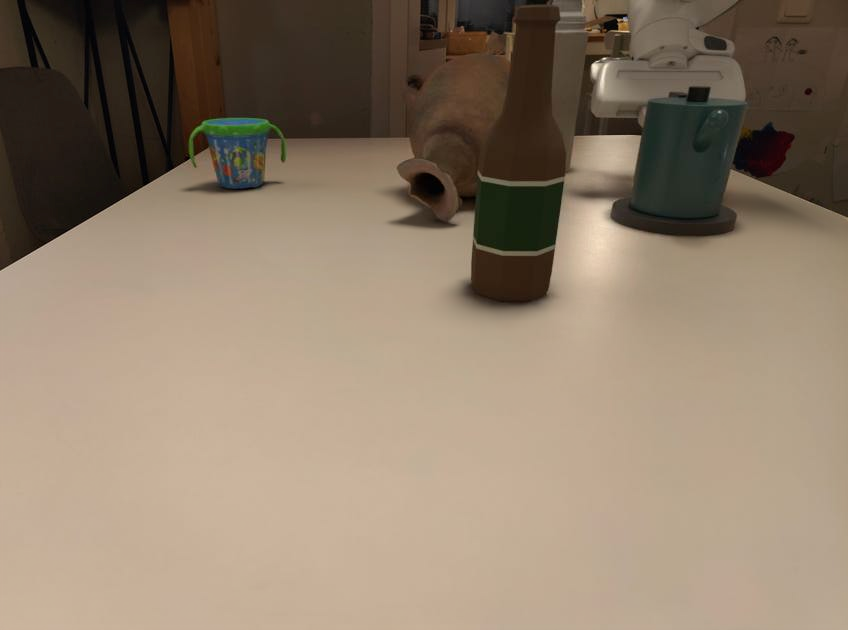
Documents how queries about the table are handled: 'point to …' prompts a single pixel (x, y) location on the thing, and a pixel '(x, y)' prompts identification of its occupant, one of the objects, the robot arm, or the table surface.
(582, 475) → the table surface
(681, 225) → the kettle base
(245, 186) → the snack cup
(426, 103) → the jug
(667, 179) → the kettle
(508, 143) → the beer bottle
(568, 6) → the thermos bottle
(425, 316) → the table surface
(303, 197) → the table surface
